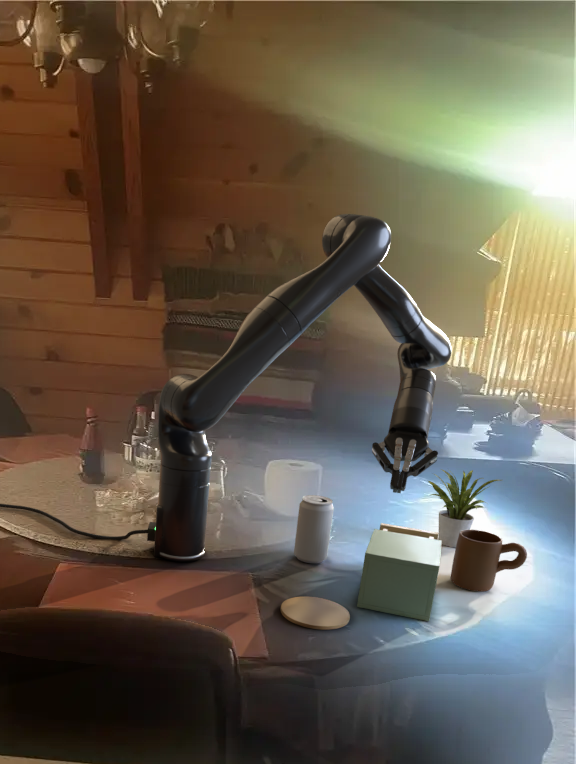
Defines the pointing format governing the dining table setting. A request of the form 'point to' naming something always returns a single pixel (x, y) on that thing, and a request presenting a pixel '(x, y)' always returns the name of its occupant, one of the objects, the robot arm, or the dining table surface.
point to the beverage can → (313, 529)
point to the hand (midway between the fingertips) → (397, 490)
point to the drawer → (409, 531)
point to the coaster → (315, 613)
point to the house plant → (457, 507)
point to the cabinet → (400, 574)
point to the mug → (482, 559)
